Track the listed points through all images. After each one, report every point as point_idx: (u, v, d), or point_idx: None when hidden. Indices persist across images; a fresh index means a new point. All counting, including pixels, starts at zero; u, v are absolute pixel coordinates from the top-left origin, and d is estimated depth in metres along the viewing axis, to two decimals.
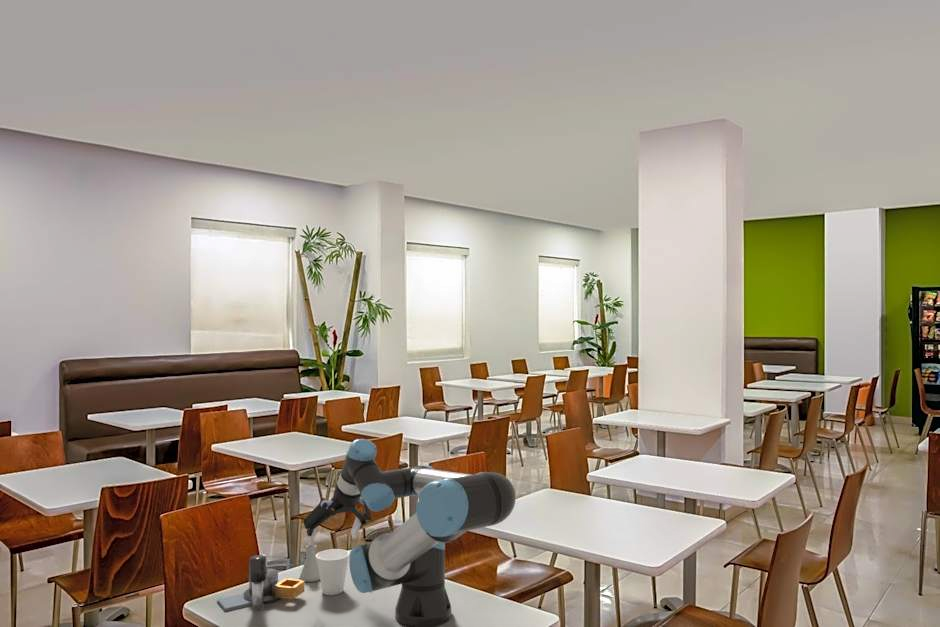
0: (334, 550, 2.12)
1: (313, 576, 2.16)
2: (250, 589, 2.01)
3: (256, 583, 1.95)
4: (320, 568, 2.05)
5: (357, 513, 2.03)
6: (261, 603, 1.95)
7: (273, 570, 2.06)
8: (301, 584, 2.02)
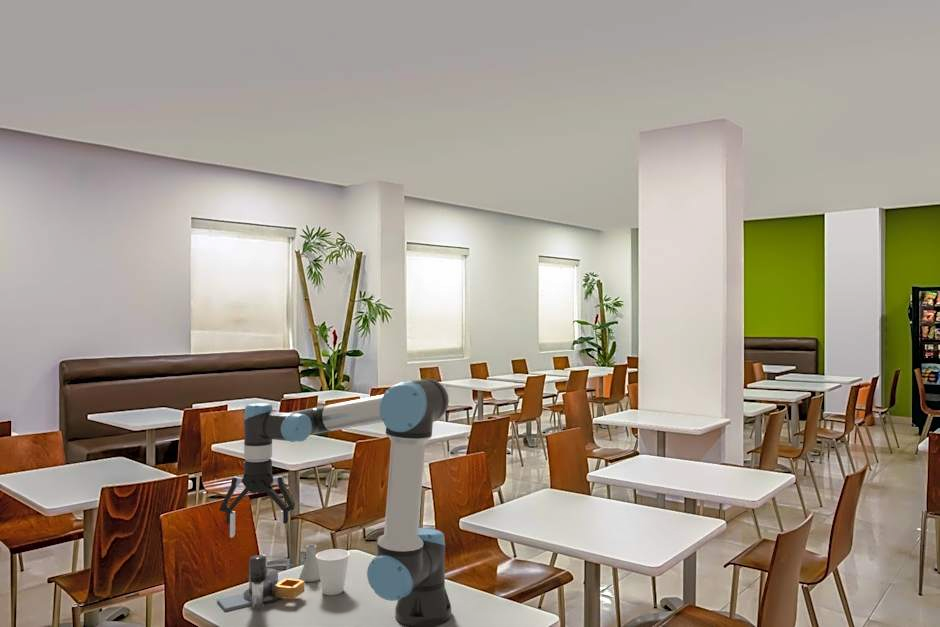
0: (334, 550, 2.12)
1: (313, 576, 2.16)
2: (250, 589, 2.01)
3: (256, 583, 1.95)
4: (320, 568, 2.05)
5: (274, 496, 1.96)
6: (261, 603, 1.95)
7: (273, 570, 2.06)
8: (301, 584, 2.02)
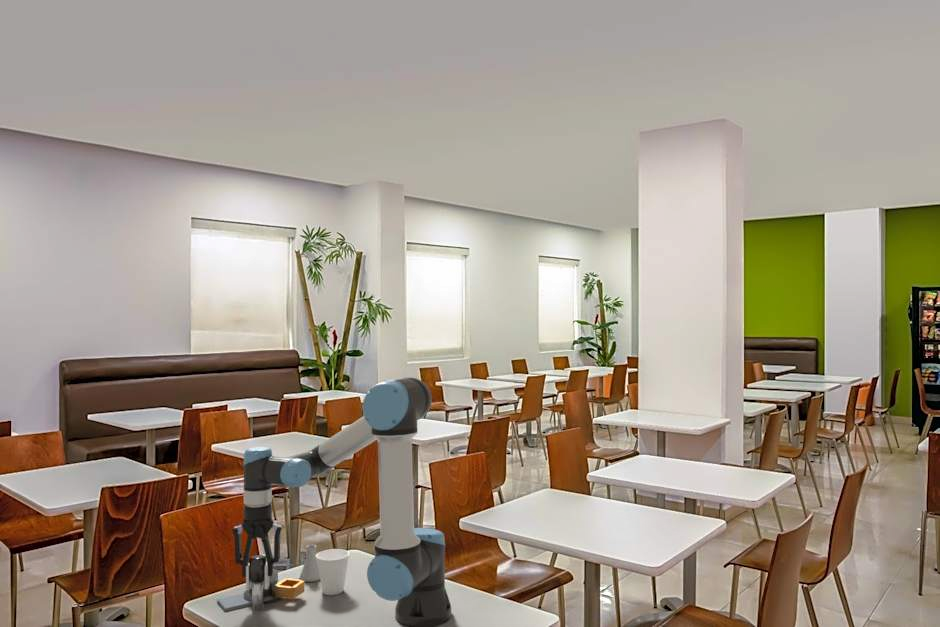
0: (334, 550, 2.12)
1: (313, 576, 2.16)
2: (250, 589, 2.01)
3: (256, 583, 1.95)
4: (320, 568, 2.05)
5: (266, 545, 1.95)
6: (261, 603, 1.95)
7: (273, 570, 2.06)
8: (301, 584, 2.02)
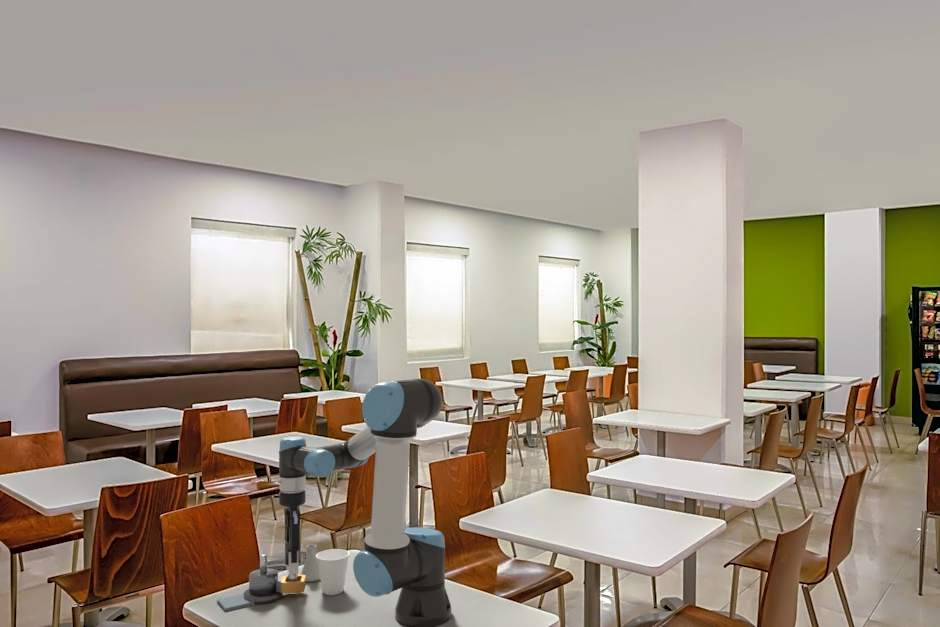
0: (334, 550, 2.12)
1: (313, 576, 2.16)
2: (253, 590, 2.00)
3: None
4: (320, 568, 2.05)
5: None
6: None
7: (270, 569, 2.07)
8: (305, 578, 2.06)
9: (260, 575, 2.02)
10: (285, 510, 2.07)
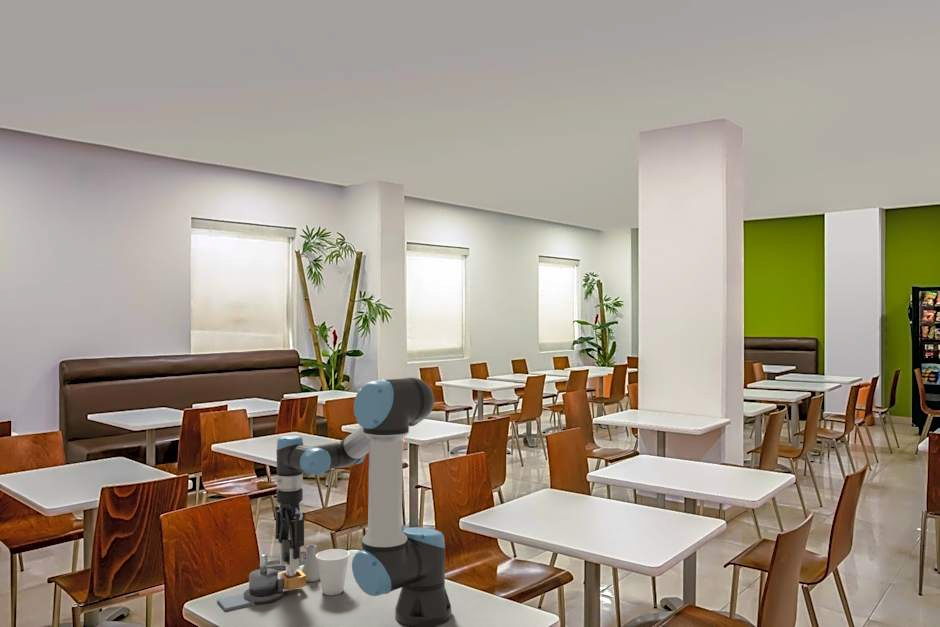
0: (334, 550, 2.12)
1: (313, 576, 2.16)
2: (258, 591, 2.00)
3: None
4: (320, 568, 2.05)
5: None
6: None
7: (266, 569, 2.07)
8: None
9: (262, 575, 2.02)
10: (282, 508, 2.09)
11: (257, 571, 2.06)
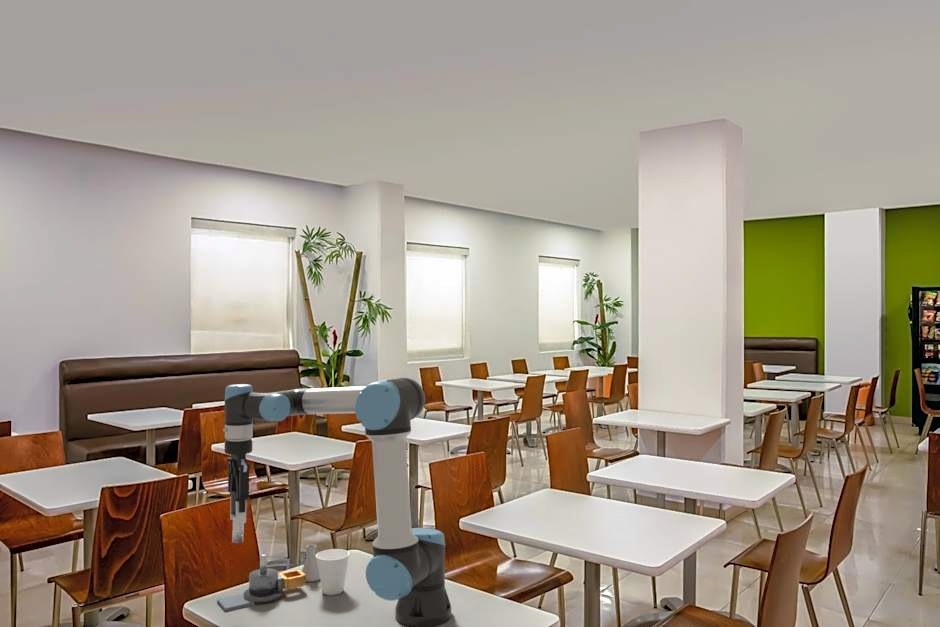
0: (334, 550, 2.12)
1: (313, 576, 2.16)
2: (259, 591, 2.00)
3: None
4: (320, 568, 2.05)
5: None
6: None
7: None
8: None
9: (263, 575, 2.02)
10: (231, 459, 2.00)
11: (256, 571, 2.06)
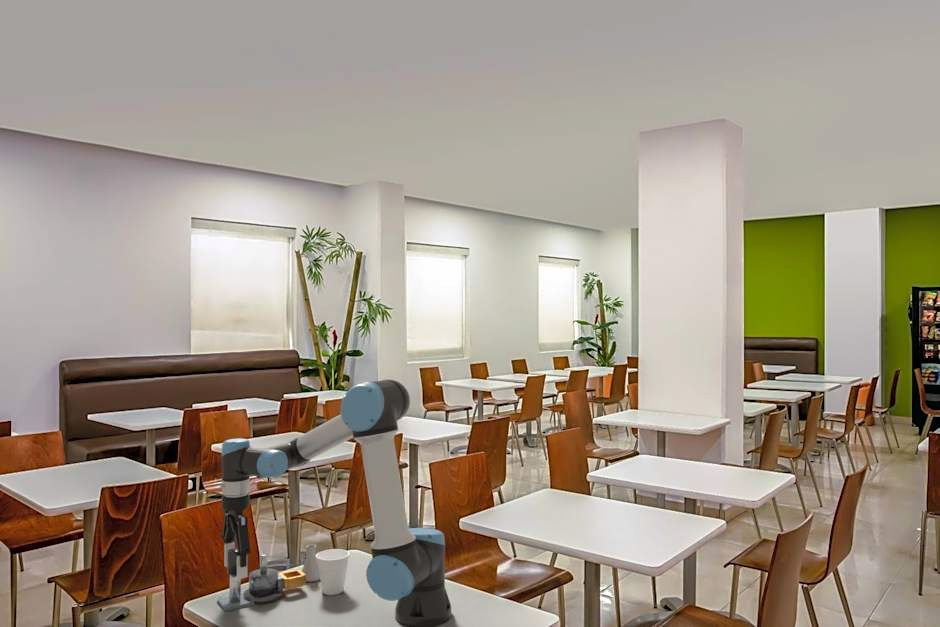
0: (334, 550, 2.12)
1: (313, 576, 2.16)
2: (259, 591, 2.00)
3: None
4: (320, 568, 2.05)
5: None
6: None
7: None
8: None
9: (263, 575, 2.02)
10: (228, 516, 1.99)
11: (256, 571, 2.06)
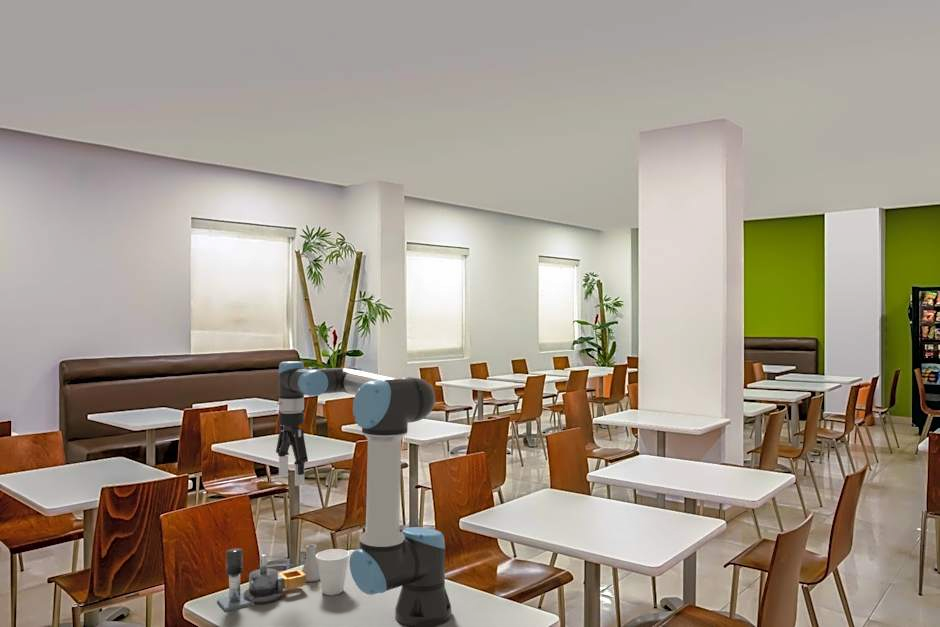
0: (334, 550, 2.12)
1: (313, 576, 2.16)
2: (259, 591, 2.00)
3: (239, 573, 2.00)
4: (320, 568, 2.05)
5: None
6: None
7: None
8: None
9: (263, 575, 2.02)
10: (284, 431, 2.16)
11: (256, 571, 2.06)
